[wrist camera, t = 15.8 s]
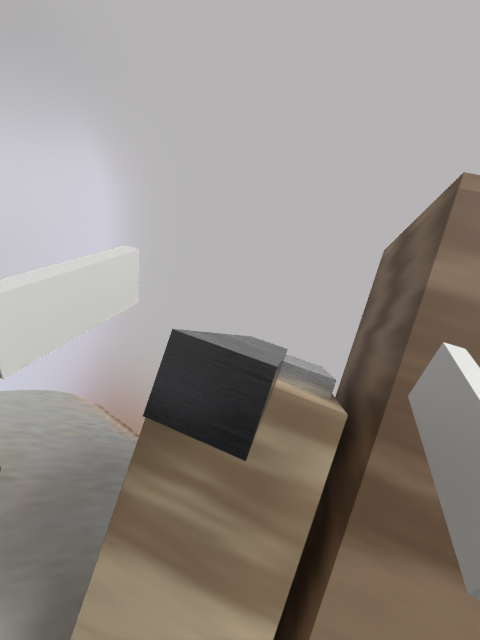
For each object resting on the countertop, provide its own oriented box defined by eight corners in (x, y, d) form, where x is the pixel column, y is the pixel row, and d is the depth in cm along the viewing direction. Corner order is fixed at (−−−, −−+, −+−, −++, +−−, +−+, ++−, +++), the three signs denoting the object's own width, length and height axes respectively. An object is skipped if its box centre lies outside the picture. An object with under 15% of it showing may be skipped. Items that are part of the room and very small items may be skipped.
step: (204, 846, 14) (347, 414, 14) (41, 723, 16) (169, 347, 16) (245, 611, 25) (322, 380, 26) (149, 558, 27) (221, 344, 28)
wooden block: (519, 1084, 11) (789, 234, 11) (233, 869, 13) (463, 172, 14) (401, 697, 23) (534, 288, 23) (261, 620, 25) (384, 250, 25)
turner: (419, 537, 5) (454, 430, 5) (24, 364, 7) (52, 285, 7) (316, 378, 26) (323, 358, 26) (226, 346, 27) (232, 327, 27)
